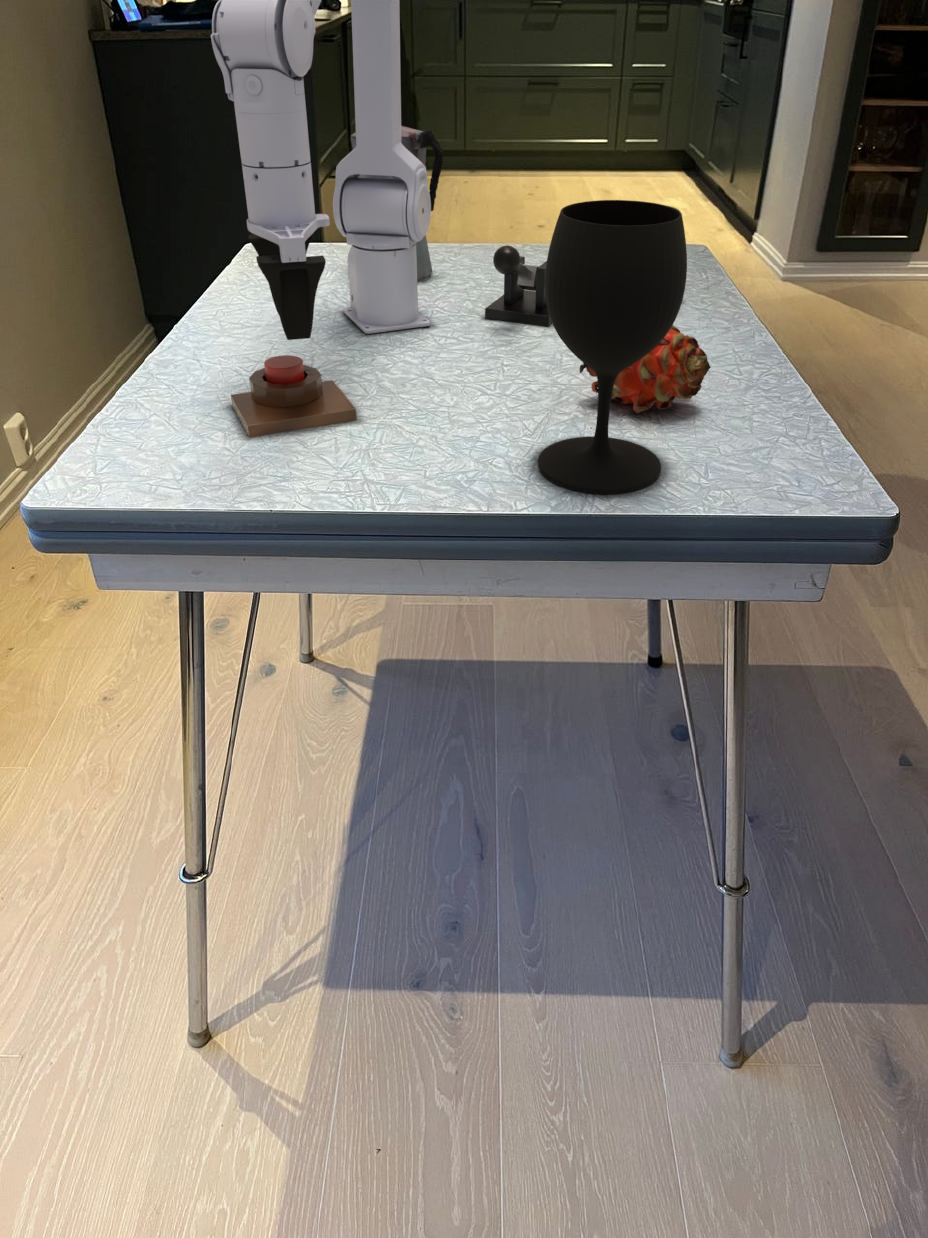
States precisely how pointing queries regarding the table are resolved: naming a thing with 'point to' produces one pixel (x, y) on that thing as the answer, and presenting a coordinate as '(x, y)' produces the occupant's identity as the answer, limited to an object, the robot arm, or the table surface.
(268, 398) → the button block
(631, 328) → the wine glass
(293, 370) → the button
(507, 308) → the bracket
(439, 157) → the moka pot
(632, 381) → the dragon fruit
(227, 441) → the table surface
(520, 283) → the lever
